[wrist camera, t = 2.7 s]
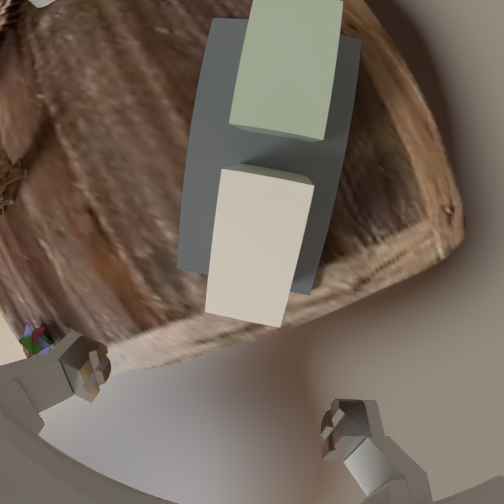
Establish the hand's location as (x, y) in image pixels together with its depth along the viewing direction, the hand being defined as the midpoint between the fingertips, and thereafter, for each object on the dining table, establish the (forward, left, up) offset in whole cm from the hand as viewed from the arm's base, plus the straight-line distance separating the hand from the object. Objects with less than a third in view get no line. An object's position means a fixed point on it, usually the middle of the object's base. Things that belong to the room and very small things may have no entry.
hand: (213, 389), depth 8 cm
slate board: (-7, -1, -20) cm, 21 cm away
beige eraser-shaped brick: (0, 0, -19) cm, 19 cm away
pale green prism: (-14, 0, -19) cm, 23 cm away
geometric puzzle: (+27, -36, -20) cm, 49 cm away
